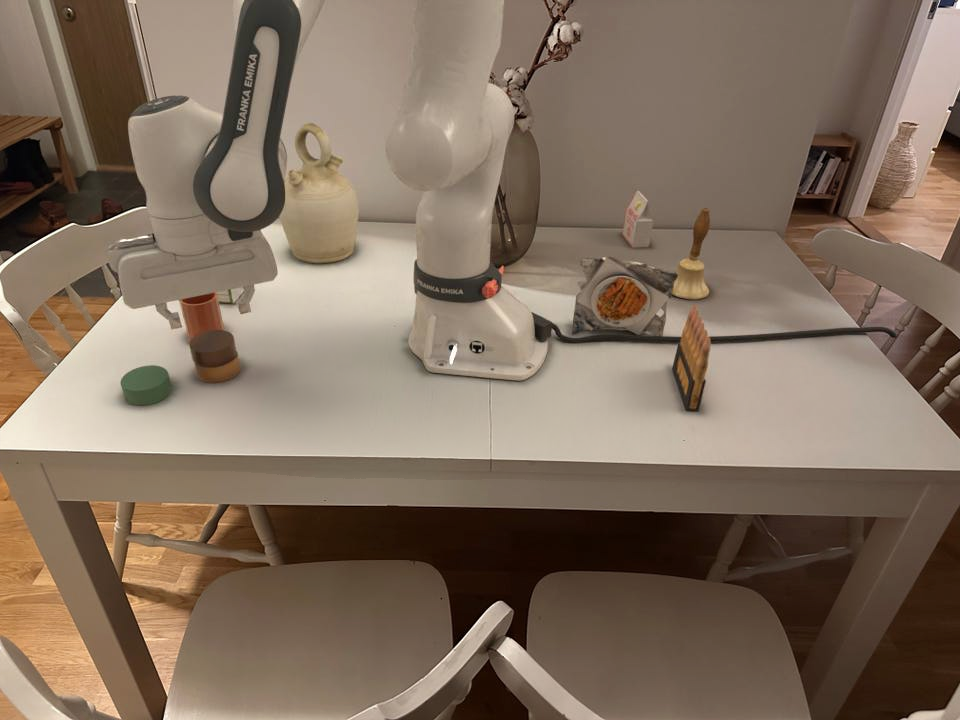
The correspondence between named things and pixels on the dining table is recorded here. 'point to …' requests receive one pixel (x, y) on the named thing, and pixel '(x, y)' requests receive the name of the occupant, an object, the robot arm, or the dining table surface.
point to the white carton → (638, 222)
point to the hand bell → (693, 264)
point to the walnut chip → (213, 348)
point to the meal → (622, 296)
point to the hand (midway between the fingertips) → (211, 319)
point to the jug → (319, 204)
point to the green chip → (146, 385)
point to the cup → (201, 314)
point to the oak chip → (219, 371)
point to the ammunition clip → (692, 361)
